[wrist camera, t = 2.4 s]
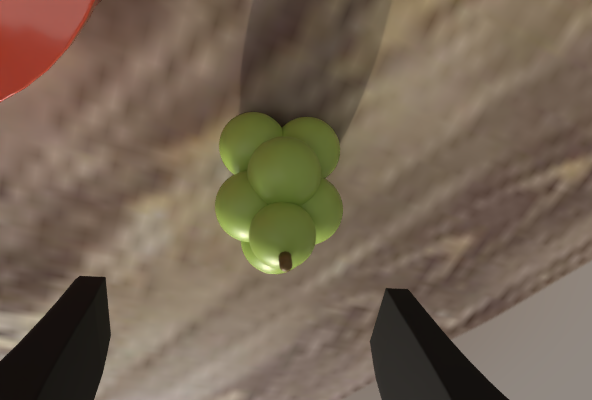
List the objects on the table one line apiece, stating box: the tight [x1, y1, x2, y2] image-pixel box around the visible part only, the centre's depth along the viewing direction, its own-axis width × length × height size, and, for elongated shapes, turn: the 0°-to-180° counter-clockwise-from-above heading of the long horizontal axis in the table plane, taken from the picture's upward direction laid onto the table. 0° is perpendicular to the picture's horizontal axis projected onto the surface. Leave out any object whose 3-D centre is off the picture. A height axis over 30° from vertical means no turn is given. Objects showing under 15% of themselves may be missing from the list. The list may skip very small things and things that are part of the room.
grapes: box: [215, 112, 343, 274], centre depth 18 cm, size 5×4×7 cm
